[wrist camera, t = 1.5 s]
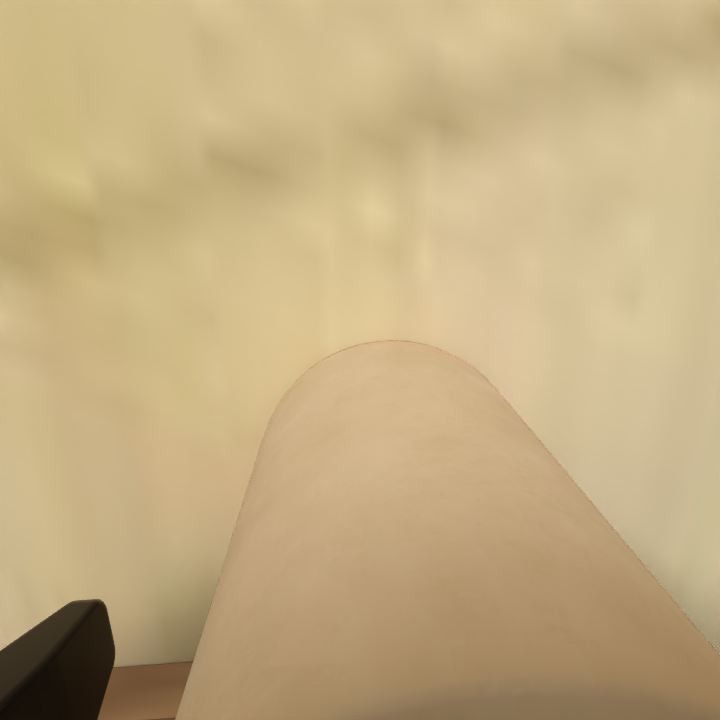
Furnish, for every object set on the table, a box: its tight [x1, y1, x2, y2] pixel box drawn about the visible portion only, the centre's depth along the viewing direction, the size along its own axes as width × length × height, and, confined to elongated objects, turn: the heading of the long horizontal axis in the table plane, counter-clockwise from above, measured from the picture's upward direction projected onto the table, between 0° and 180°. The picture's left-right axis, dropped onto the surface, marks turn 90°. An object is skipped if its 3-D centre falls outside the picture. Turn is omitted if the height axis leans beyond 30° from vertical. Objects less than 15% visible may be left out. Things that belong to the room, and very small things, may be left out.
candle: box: [175, 340, 720, 720], centre depth 7 cm, size 6×6×10 cm
